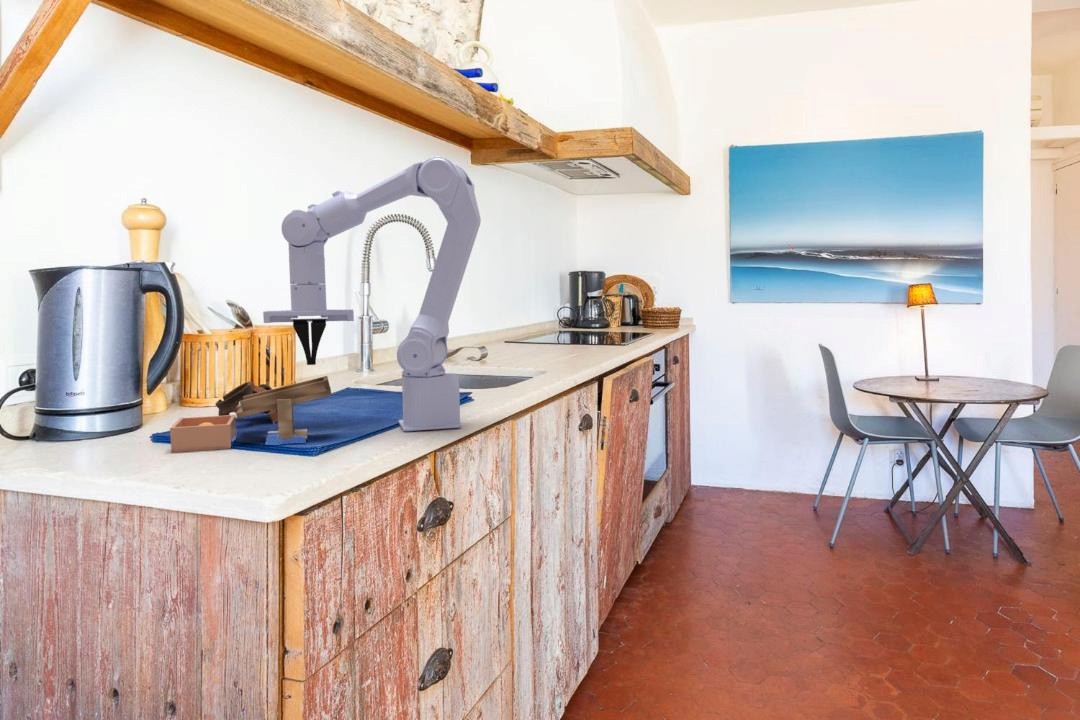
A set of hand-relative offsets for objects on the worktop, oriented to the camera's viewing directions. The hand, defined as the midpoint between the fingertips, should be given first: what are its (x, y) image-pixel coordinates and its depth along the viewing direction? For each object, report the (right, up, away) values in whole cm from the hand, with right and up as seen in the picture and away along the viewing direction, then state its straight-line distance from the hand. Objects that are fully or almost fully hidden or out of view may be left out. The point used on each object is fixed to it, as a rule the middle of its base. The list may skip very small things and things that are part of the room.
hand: (311, 364), depth 124 cm
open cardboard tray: (-12, -12, -14) cm, 22 cm away
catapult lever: (-2, -6, -8) cm, 10 cm away
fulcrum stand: (-1, -12, -10) cm, 16 cm away
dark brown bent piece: (-12, -10, +4) cm, 16 cm away
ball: (-12, -10, -14) cm, 21 cm away
